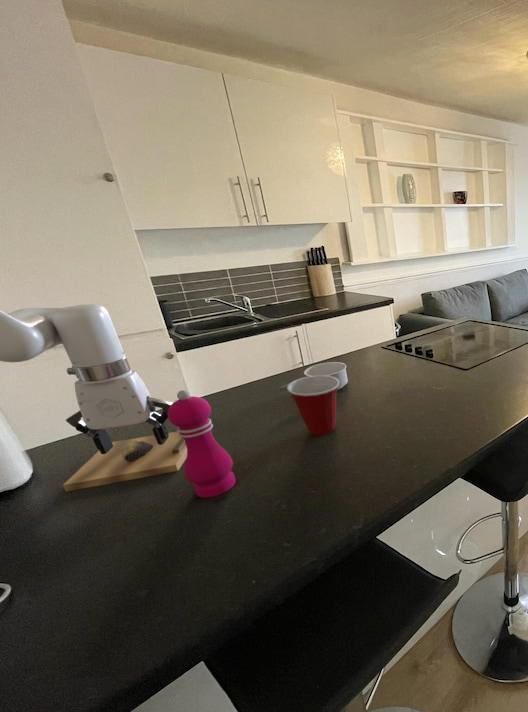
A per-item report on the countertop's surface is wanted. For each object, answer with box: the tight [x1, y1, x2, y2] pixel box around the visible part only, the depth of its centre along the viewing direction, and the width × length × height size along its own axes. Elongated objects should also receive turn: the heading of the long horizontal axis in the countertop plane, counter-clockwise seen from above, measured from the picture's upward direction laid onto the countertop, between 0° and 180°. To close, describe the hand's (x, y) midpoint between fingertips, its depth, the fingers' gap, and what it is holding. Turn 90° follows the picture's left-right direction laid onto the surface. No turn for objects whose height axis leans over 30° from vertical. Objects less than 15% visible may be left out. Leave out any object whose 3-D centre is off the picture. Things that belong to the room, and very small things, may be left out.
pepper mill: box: [167, 389, 236, 499], centre depth 73 cm, size 7×7×20 cm
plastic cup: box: [287, 375, 340, 437], centre depth 94 cm, size 11×11×12 cm
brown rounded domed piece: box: [122, 441, 153, 462], centre depth 85 cm, size 6×5×3 cm
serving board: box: [62, 431, 187, 493], centre depth 86 cm, size 18×16×2 cm
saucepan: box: [279, 361, 349, 391], centre depth 115 cm, size 12×20×6 cm, turn 152°
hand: (136, 446), depth 85 cm, fingers open, 9 cm apart
